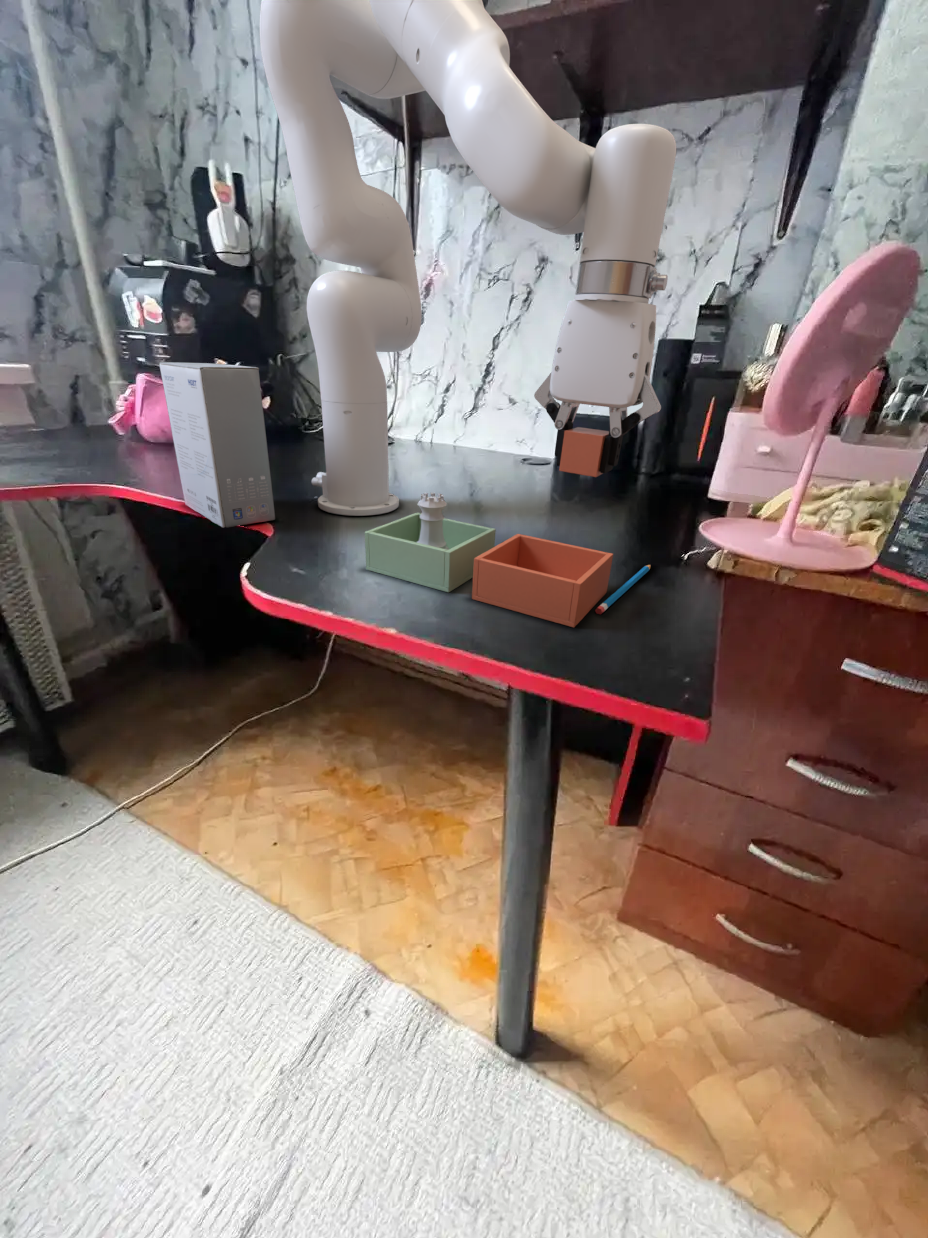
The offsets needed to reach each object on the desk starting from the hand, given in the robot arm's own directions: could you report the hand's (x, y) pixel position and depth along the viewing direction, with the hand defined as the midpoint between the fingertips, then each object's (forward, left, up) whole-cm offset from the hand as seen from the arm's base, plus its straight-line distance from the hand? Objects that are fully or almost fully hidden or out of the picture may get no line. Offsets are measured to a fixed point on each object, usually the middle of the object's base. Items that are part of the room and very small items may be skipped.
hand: (584, 465), depth 64 cm
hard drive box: (-48, -13, -12) cm, 52 cm away
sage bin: (-12, -14, -11) cm, 22 cm away
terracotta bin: (+2, -14, -11) cm, 18 cm away
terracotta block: (0, 0, -1) cm, 1 cm away
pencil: (+9, -6, -12) cm, 16 cm away
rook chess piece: (-12, -14, -11) cm, 22 cm away
